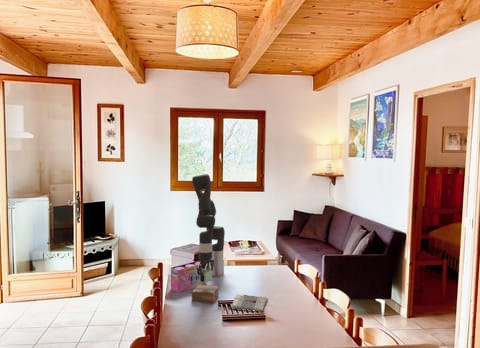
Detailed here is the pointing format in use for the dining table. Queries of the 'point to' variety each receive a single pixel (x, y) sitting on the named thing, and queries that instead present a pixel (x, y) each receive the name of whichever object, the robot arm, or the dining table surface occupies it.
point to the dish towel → (242, 304)
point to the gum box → (185, 277)
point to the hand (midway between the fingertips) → (205, 280)
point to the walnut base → (205, 294)
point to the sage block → (207, 276)
